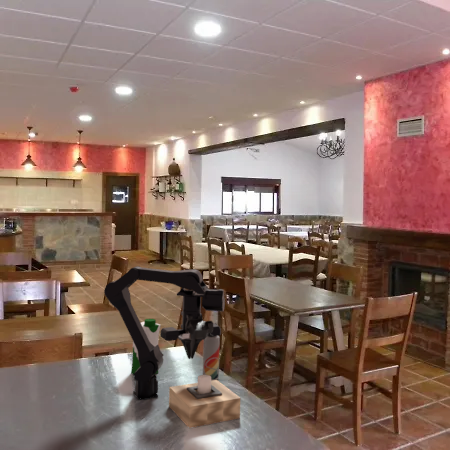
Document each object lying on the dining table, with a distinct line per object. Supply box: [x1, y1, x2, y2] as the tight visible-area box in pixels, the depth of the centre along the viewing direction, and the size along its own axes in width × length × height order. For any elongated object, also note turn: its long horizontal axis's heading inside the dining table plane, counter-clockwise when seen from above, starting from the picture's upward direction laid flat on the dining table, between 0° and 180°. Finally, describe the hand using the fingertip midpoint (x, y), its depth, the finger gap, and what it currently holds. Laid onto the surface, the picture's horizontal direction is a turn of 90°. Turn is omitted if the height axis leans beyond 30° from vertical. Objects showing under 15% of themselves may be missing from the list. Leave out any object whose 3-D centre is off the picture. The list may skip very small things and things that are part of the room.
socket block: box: [168, 379, 241, 429], centre depth 145 cm, size 16×16×7 cm
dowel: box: [197, 374, 211, 395], centre depth 145 cm, size 4×4×6 cm
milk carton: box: [130, 318, 161, 375], centre depth 177 cm, size 9×9×20 cm
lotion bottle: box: [202, 322, 221, 381], centre depth 174 cm, size 6×6×20 cm
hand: (190, 358), depth 155 cm, fingers closed
